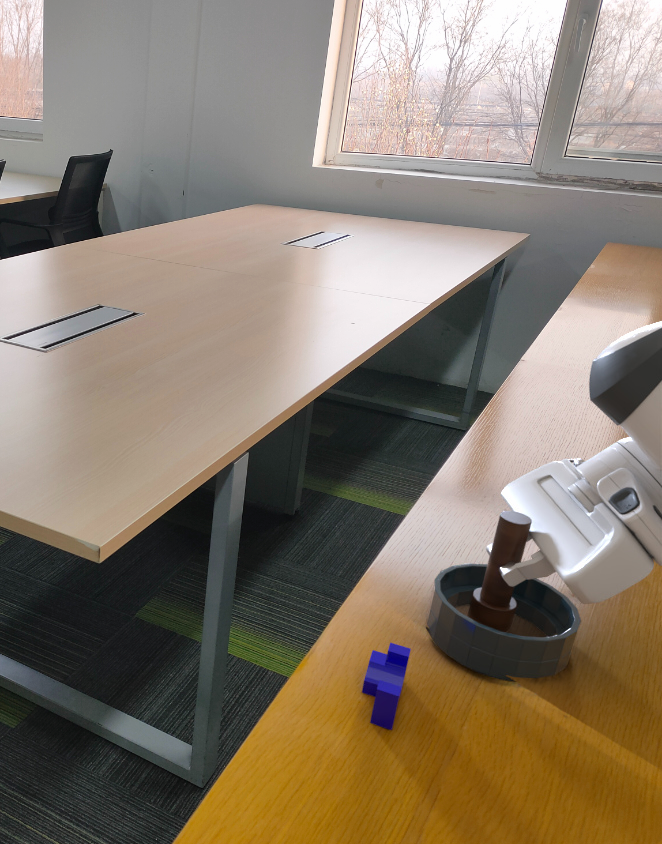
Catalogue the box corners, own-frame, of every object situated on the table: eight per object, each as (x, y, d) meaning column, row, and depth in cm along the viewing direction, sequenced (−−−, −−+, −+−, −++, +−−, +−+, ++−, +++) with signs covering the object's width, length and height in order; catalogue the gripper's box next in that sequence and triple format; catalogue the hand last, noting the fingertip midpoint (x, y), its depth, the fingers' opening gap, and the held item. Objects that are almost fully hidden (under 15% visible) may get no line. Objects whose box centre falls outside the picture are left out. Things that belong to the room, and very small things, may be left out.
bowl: (591, 659, 86) (607, 612, 84) (518, 707, 79) (533, 657, 77) (472, 594, 97) (483, 551, 95) (398, 631, 90) (407, 585, 88)
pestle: (519, 625, 88) (548, 521, 83) (496, 638, 85) (524, 531, 80) (482, 605, 91) (508, 503, 86) (459, 617, 89) (484, 513, 84)
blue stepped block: (368, 669, 84) (375, 637, 82) (403, 680, 82) (410, 648, 81) (353, 717, 77) (360, 683, 75) (391, 730, 75) (399, 696, 74)
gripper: (560, 433, 90) (453, 502, 95) (652, 520, 71) (512, 601, 76) (592, 472, 91) (484, 539, 96) (691, 568, 72) (550, 645, 77)
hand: (497, 567), depth 86 cm, fingers closed on pestle, 3 cm apart
